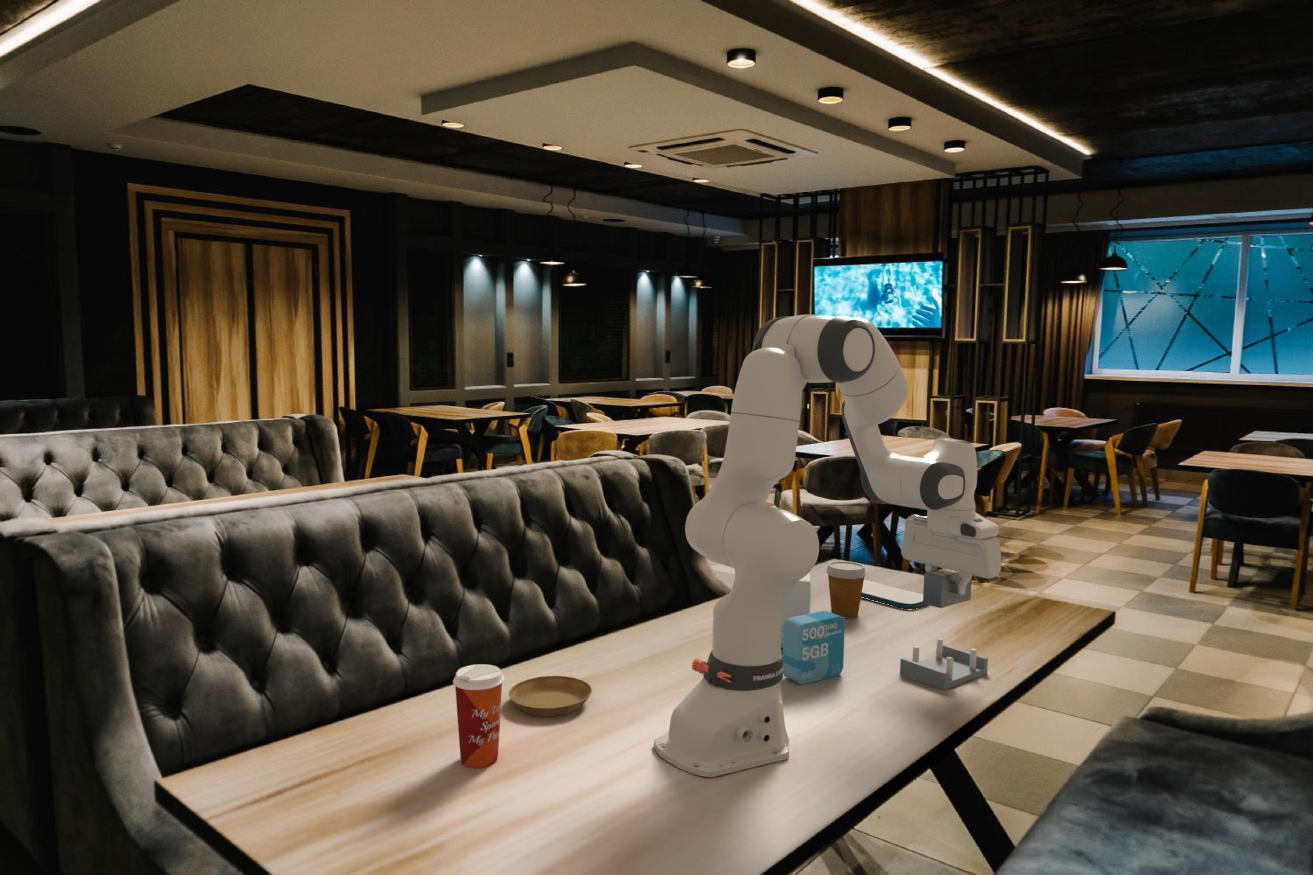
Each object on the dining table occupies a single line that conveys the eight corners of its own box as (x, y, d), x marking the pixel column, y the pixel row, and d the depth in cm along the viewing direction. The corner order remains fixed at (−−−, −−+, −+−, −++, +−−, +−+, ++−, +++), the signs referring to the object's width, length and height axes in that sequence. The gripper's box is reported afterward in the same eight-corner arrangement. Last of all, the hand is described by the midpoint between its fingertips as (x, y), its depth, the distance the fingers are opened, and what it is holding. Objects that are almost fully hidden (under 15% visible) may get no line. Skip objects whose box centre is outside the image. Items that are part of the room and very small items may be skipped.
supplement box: (809, 636, 196) (811, 570, 194) (809, 650, 187) (811, 581, 185) (768, 633, 197) (770, 568, 196) (766, 647, 188) (768, 578, 187)
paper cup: (480, 776, 130) (479, 685, 129) (443, 762, 134) (442, 674, 133) (515, 755, 137) (515, 668, 135) (479, 743, 141) (478, 659, 139)
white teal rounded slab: (832, 592, 233) (832, 584, 233) (859, 585, 241) (859, 578, 241) (909, 613, 215) (909, 605, 215) (935, 604, 223) (936, 597, 223)
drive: (940, 608, 168) (942, 576, 167) (922, 603, 171) (924, 572, 170) (970, 599, 174) (972, 569, 174) (952, 595, 177) (954, 565, 177)
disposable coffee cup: (868, 620, 208) (870, 570, 207) (828, 619, 208) (830, 570, 207) (860, 608, 217) (861, 561, 216) (821, 607, 217) (823, 560, 216)
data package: (797, 686, 167) (799, 624, 166) (781, 678, 171) (783, 618, 169) (843, 674, 173) (845, 615, 172) (827, 667, 177) (829, 609, 176)
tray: (944, 690, 166) (945, 663, 165) (899, 674, 174) (900, 648, 173) (987, 673, 175) (988, 647, 174) (943, 658, 182) (944, 634, 182)
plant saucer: (545, 729, 147) (545, 714, 147) (491, 705, 157) (491, 691, 157) (609, 704, 158) (609, 690, 157) (554, 682, 168) (554, 669, 167)
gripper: (896, 514, 177) (893, 581, 179) (988, 531, 161) (985, 605, 163) (915, 511, 181) (912, 577, 182) (1007, 527, 165) (1003, 599, 166)
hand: (947, 590), depth 172 cm, fingers closed on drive, 4 cm apart
